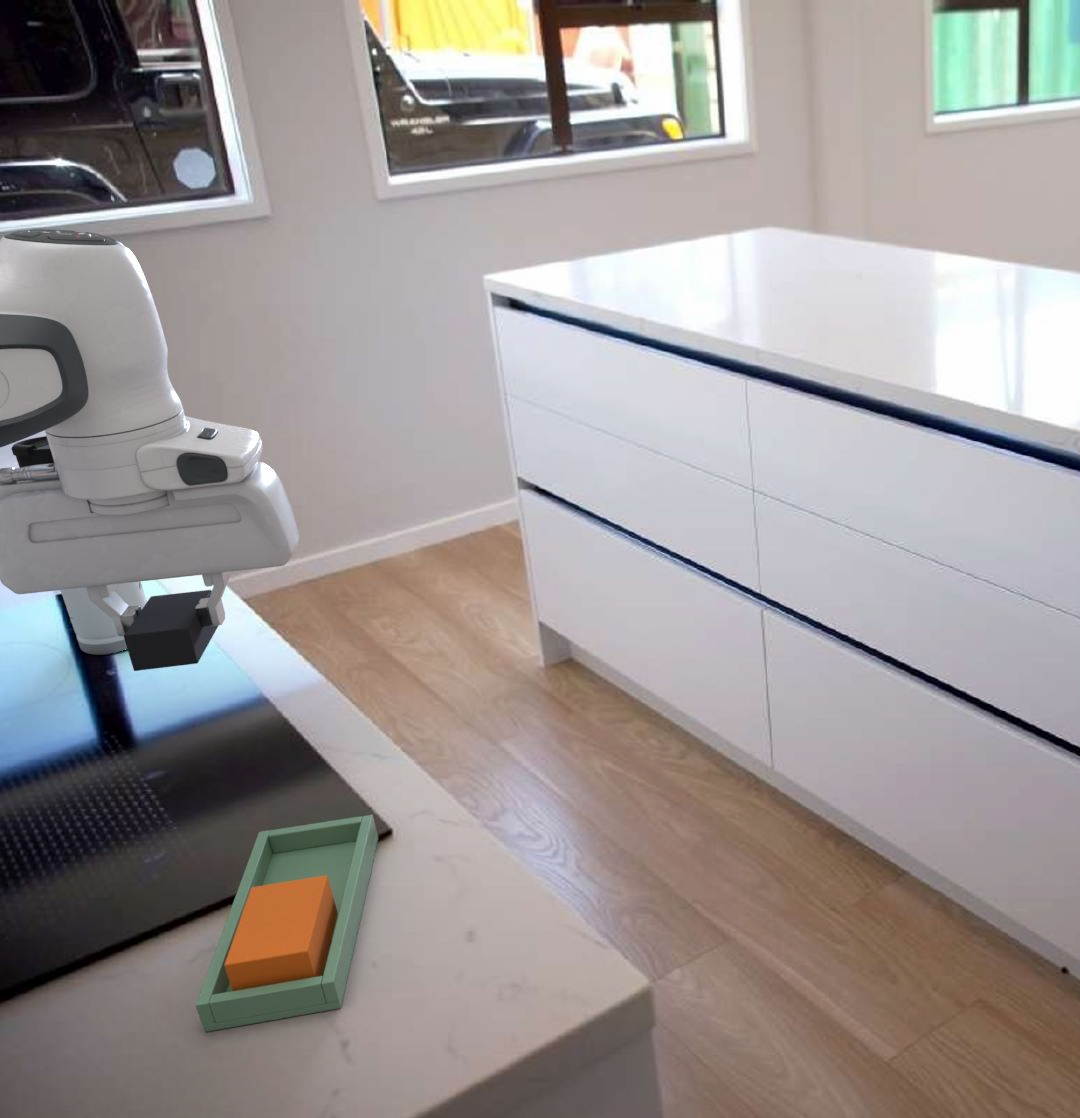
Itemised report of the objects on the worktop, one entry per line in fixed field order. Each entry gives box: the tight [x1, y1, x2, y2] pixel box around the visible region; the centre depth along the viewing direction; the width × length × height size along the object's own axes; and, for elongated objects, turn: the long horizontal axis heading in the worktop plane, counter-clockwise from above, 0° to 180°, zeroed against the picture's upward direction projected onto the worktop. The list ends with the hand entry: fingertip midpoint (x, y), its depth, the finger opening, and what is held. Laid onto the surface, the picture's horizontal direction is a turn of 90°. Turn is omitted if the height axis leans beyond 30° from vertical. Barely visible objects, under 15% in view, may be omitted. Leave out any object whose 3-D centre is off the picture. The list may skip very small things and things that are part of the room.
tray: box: [195, 814, 379, 1033], centre depth 79 cm, size 7×16×2 cm, turn 11°
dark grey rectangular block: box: [124, 589, 220, 672], centre depth 97 cm, size 4×7×3 cm, turn 11°
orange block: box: [224, 875, 338, 991], centre depth 76 cm, size 4×7×3 cm, turn 11°
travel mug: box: [11, 435, 148, 656], centre depth 113 cm, size 6×7×20 cm
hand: (173, 627), depth 97 cm, fingers closed on dark grey rectangular block, 4 cm apart
